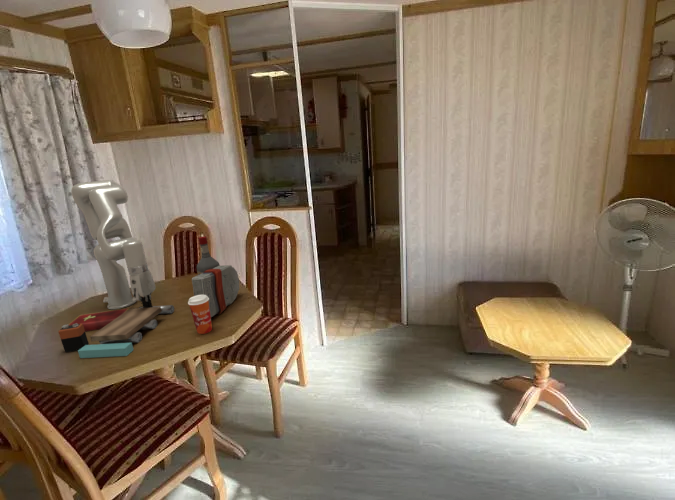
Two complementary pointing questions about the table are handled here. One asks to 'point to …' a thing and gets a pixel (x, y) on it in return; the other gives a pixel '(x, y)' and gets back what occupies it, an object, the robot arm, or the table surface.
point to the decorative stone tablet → (217, 287)
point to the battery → (73, 337)
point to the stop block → (105, 350)
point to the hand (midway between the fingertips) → (148, 309)
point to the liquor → (205, 257)
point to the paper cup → (201, 313)
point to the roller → (133, 339)
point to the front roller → (150, 325)
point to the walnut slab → (126, 324)
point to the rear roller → (165, 309)
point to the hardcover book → (98, 319)
